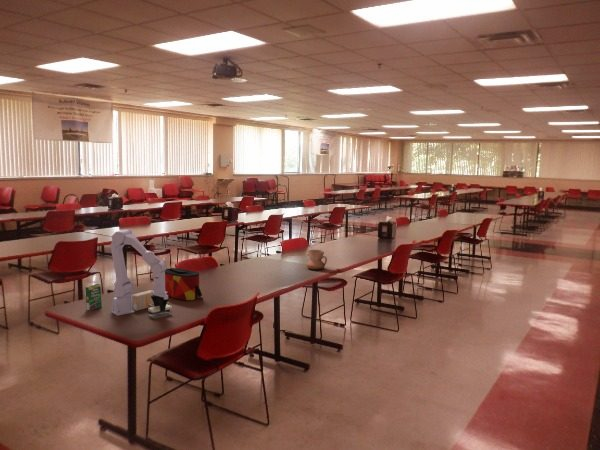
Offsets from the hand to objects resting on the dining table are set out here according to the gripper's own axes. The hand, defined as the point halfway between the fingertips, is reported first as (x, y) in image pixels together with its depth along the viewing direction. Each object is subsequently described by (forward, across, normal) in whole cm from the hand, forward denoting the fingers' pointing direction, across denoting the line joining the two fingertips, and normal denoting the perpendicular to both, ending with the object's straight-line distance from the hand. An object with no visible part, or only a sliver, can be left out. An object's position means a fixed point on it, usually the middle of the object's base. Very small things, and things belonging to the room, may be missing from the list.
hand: (159, 309), depth 248 cm
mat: (+3, 0, 0) cm, 3 cm away
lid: (0, 0, 0) cm, 0 cm away
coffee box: (+3, +32, +22) cm, 39 cm away
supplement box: (-1, +20, -6) cm, 21 cm away
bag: (+3, +25, -26) cm, 37 cm away
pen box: (+3, +7, -3) cm, 8 cm away
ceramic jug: (+3, +26, -144) cm, 146 cm away
